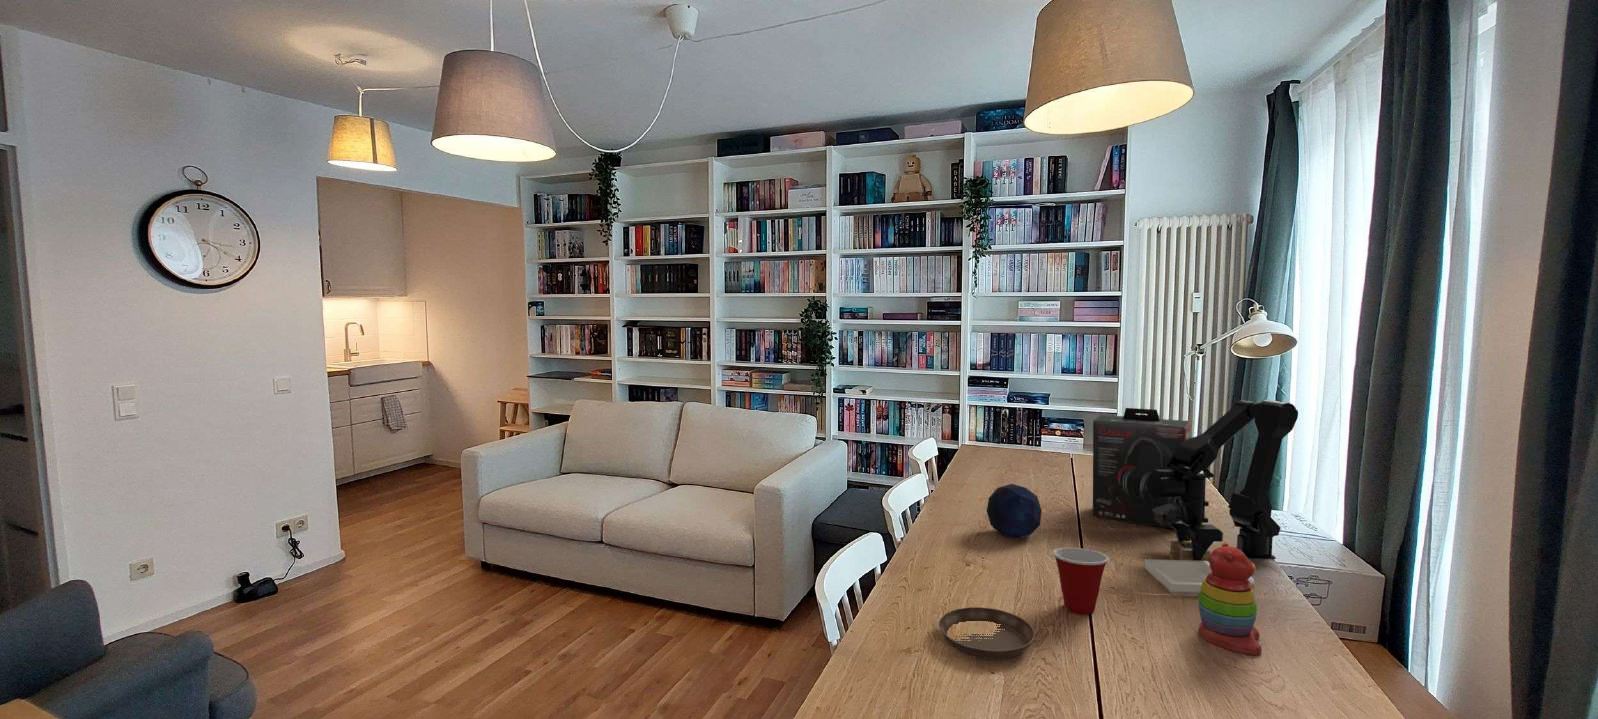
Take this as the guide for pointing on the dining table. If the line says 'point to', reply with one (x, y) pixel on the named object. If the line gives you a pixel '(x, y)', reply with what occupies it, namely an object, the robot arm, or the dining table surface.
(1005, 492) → the decorative orb
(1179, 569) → the tray
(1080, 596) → the plastic cup
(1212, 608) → the stacking bear
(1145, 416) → the headset box
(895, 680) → the dining table surface
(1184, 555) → the brown hollow block
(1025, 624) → the plant saucer
